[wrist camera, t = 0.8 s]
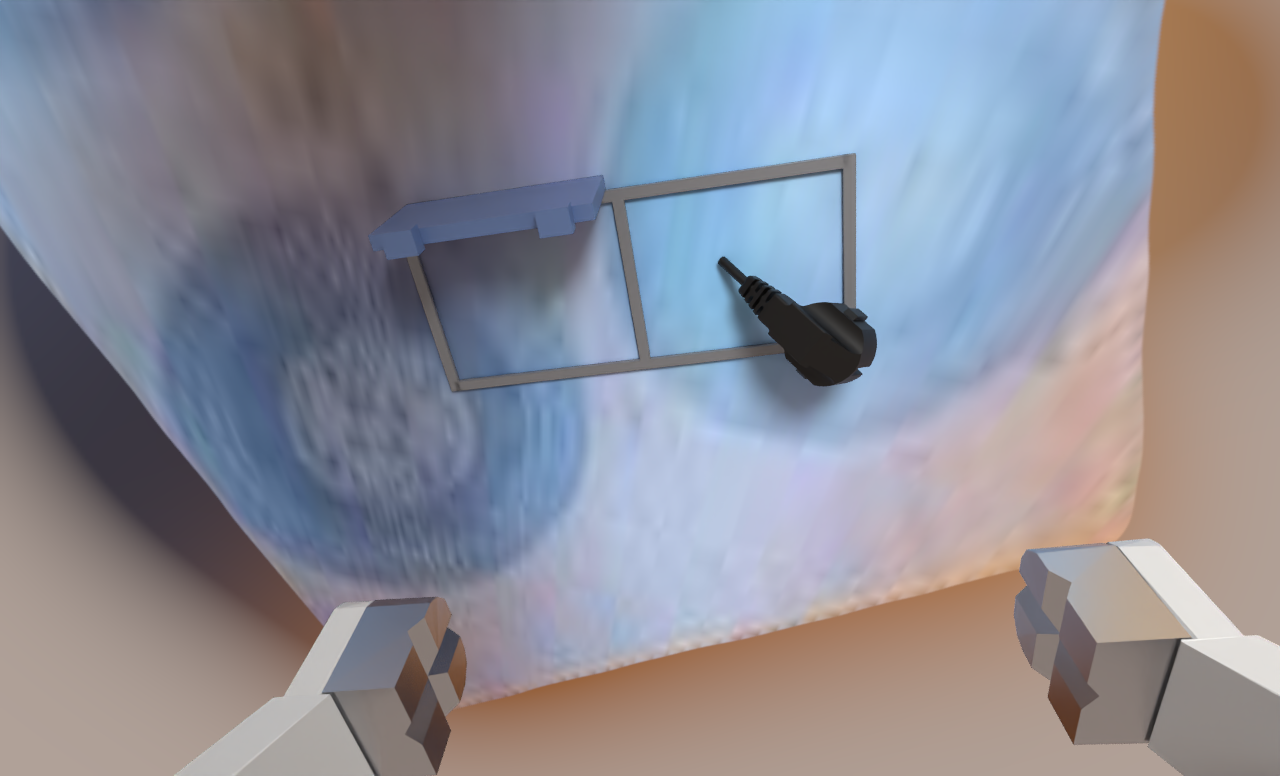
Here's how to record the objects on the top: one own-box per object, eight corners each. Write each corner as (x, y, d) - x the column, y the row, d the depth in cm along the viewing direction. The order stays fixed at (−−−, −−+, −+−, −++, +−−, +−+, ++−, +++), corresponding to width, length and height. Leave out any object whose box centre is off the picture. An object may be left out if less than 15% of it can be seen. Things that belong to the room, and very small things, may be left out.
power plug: (738, 225, 47) (869, 340, 42) (786, 237, 53) (906, 338, 48) (693, 291, 49) (812, 406, 44) (744, 295, 55) (853, 397, 50)
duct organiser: (389, 202, 48) (340, 239, 41) (854, 132, 44) (888, 160, 37) (452, 389, 55) (420, 448, 48) (854, 342, 52) (883, 399, 45)
